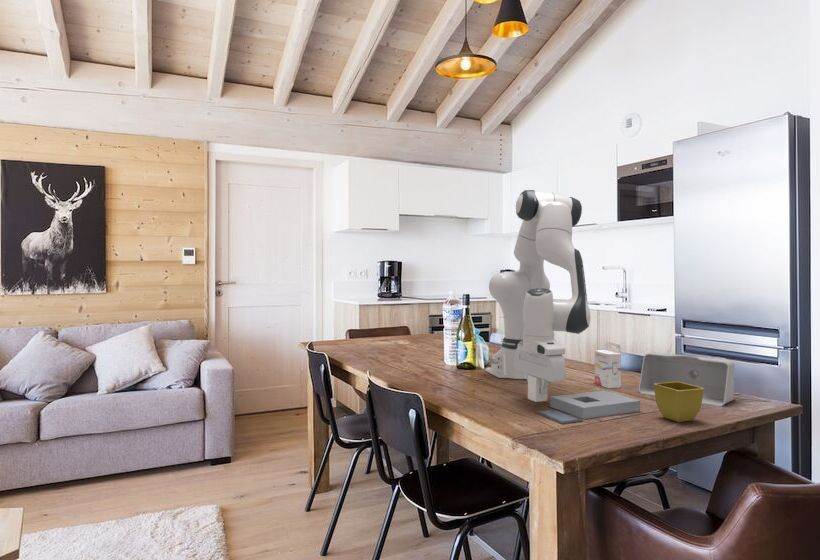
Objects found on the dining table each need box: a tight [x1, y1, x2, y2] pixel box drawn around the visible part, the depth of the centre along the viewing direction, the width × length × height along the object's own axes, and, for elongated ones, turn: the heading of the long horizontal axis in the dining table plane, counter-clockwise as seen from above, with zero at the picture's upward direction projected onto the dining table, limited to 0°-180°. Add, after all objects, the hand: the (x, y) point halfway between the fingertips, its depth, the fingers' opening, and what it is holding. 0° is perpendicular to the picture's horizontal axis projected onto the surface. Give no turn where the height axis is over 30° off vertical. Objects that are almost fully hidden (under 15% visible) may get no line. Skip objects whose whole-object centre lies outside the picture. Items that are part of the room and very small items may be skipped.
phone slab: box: [534, 408, 584, 425], centre depth 145 cm, size 12×6×1 cm, turn 21°
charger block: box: [527, 375, 548, 403], centre depth 158 cm, size 4×4×8 cm
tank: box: [638, 351, 735, 407], centre depth 171 cm, size 25×16×12 cm, turn 44°
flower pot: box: [654, 382, 704, 423], centre depth 143 cm, size 9×9×9 cm
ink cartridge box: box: [594, 341, 622, 389], centre depth 185 cm, size 9×5×15 cm, turn 14°
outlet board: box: [549, 390, 641, 420], centre depth 154 cm, size 14×20×3 cm
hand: (537, 391), depth 158 cm, fingers closed on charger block, 4 cm apart
